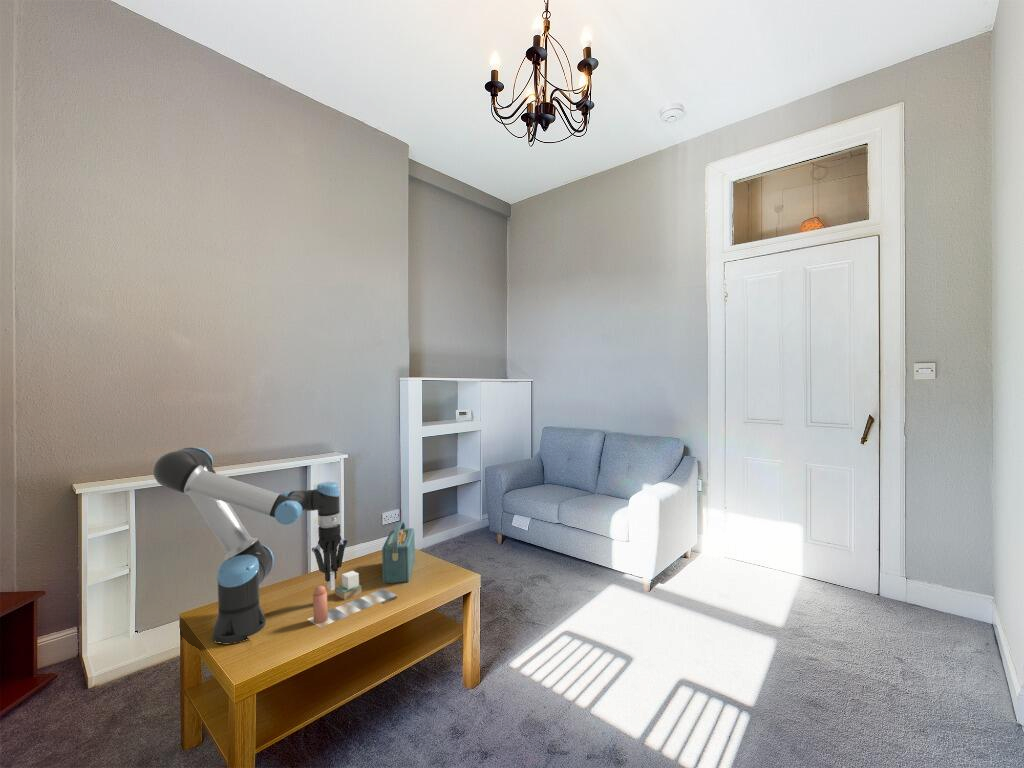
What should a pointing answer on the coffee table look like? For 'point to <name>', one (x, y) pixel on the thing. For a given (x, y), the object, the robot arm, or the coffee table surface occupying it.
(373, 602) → the board
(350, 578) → the white cube
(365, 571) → the coffee table surface
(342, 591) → the stand
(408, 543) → the radio
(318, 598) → the pink rounded cylinder
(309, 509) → the robot arm
